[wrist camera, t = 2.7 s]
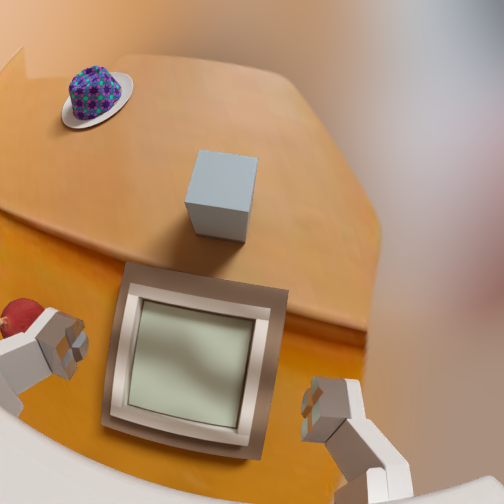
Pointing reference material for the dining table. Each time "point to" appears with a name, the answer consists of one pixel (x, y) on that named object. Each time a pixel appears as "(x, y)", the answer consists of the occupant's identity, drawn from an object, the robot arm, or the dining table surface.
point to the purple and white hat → (95, 96)
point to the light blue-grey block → (221, 195)
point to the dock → (193, 361)
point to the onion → (19, 316)
